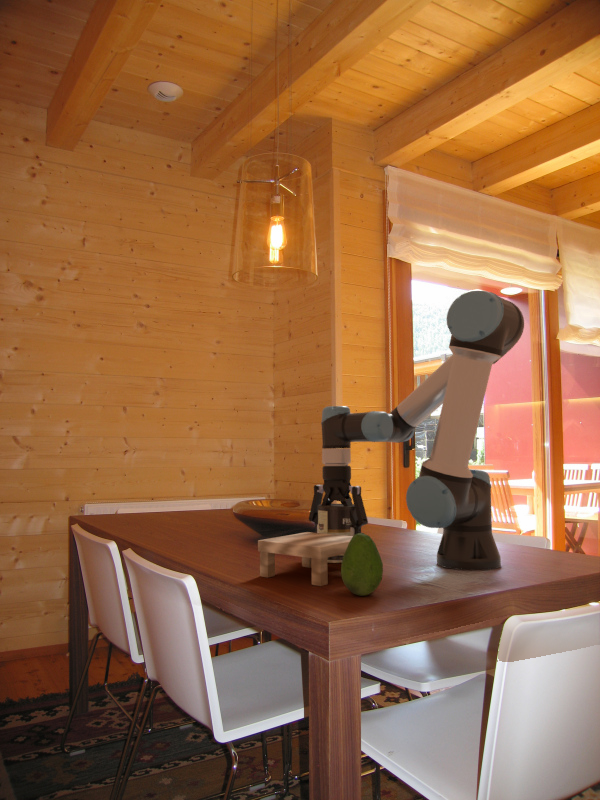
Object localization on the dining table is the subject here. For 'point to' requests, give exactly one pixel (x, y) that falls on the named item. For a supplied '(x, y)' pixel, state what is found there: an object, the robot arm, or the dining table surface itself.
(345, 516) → the coffee can
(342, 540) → the footstool
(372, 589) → the fruit
